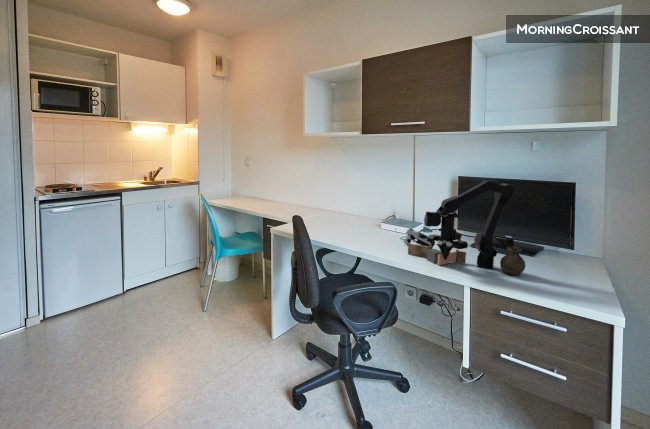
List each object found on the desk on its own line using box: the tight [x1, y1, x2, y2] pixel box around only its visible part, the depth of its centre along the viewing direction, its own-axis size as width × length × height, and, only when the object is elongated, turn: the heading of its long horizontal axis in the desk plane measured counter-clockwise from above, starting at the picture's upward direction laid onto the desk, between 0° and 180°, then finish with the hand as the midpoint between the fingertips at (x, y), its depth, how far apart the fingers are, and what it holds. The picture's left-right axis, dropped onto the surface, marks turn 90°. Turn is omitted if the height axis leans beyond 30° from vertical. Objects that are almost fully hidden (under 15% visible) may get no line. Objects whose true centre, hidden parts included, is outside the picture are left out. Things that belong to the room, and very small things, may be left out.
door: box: [437, 250, 457, 266], centre depth 164 cm, size 11×1×5 cm, turn 117°
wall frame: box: [407, 243, 467, 264], centre depth 172 cm, size 28×2×6 cm, turn 59°
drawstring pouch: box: [499, 245, 526, 276], centre depth 150 cm, size 10×10×12 cm
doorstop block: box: [426, 248, 442, 265], centre depth 167 cm, size 6×4×6 cm
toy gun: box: [403, 228, 436, 249], centre depth 192 cm, size 2×17×10 cm, turn 51°
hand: (445, 259), depth 161 cm, fingers closed
